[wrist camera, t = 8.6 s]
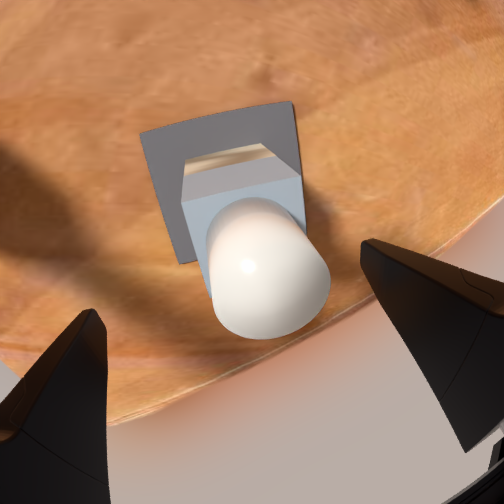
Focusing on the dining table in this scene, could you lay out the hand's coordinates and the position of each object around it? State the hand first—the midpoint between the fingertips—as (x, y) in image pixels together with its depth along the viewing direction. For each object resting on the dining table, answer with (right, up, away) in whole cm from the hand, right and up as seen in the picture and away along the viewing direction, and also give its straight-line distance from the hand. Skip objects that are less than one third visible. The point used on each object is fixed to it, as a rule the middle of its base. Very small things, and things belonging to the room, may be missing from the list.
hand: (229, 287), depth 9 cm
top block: (0, +4, +7) cm, 8 cm away
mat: (-1, +6, +11) cm, 13 cm away
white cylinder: (+1, +2, +4) cm, 4 cm away
